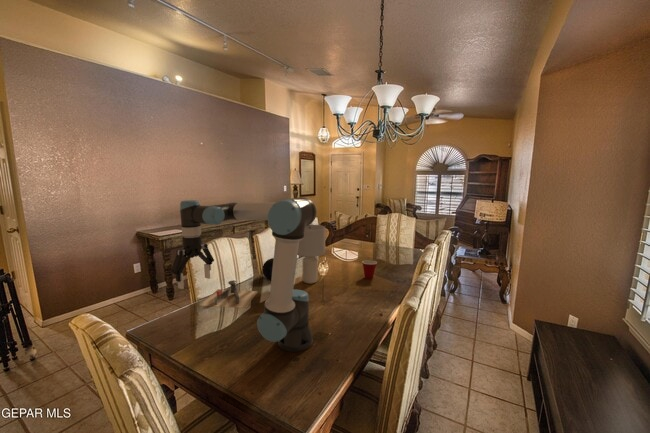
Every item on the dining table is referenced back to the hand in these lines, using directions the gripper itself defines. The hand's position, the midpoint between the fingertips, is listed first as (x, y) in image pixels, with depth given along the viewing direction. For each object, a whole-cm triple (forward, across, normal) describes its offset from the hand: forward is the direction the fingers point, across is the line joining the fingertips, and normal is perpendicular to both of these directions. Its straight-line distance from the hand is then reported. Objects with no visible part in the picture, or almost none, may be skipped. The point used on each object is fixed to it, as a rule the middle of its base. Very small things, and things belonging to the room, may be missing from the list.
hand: (194, 282), depth 125 cm
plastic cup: (+26, -107, +46) cm, 119 cm away
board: (+25, -34, -14) cm, 45 cm away
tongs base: (+24, -33, -17) cm, 44 cm away
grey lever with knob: (+24, -36, -13) cm, 45 cm away
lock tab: (+19, -28, -16) cm, 37 cm away
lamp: (+25, -81, +12) cm, 86 cm away
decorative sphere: (+25, -72, -12) cm, 78 cm away
